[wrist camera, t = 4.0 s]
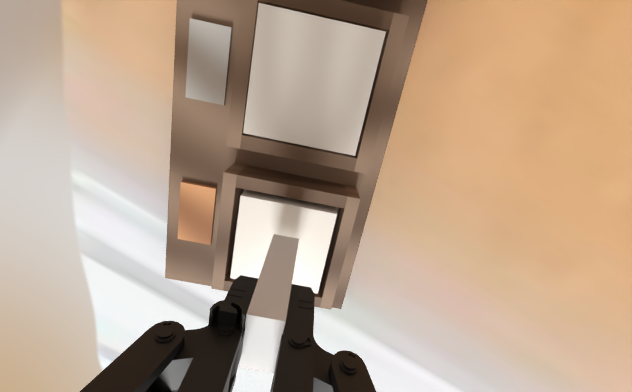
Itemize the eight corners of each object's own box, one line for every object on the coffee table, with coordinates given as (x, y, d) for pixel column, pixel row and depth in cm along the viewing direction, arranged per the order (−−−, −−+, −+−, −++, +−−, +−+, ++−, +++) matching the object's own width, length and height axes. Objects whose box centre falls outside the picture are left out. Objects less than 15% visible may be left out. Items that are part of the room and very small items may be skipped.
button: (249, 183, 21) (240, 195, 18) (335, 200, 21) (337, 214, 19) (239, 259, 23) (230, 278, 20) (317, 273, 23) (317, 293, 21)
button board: (207, -288, 15) (163, -437, 11) (477, -213, 16) (535, -325, 11) (176, 263, 25) (147, 298, 21) (339, 293, 26) (343, 332, 22)
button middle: (267, 15, 16) (258, 2, 14) (376, 39, 16) (385, 31, 14) (252, 127, 18) (243, 133, 16) (350, 147, 18) (355, 155, 16)
